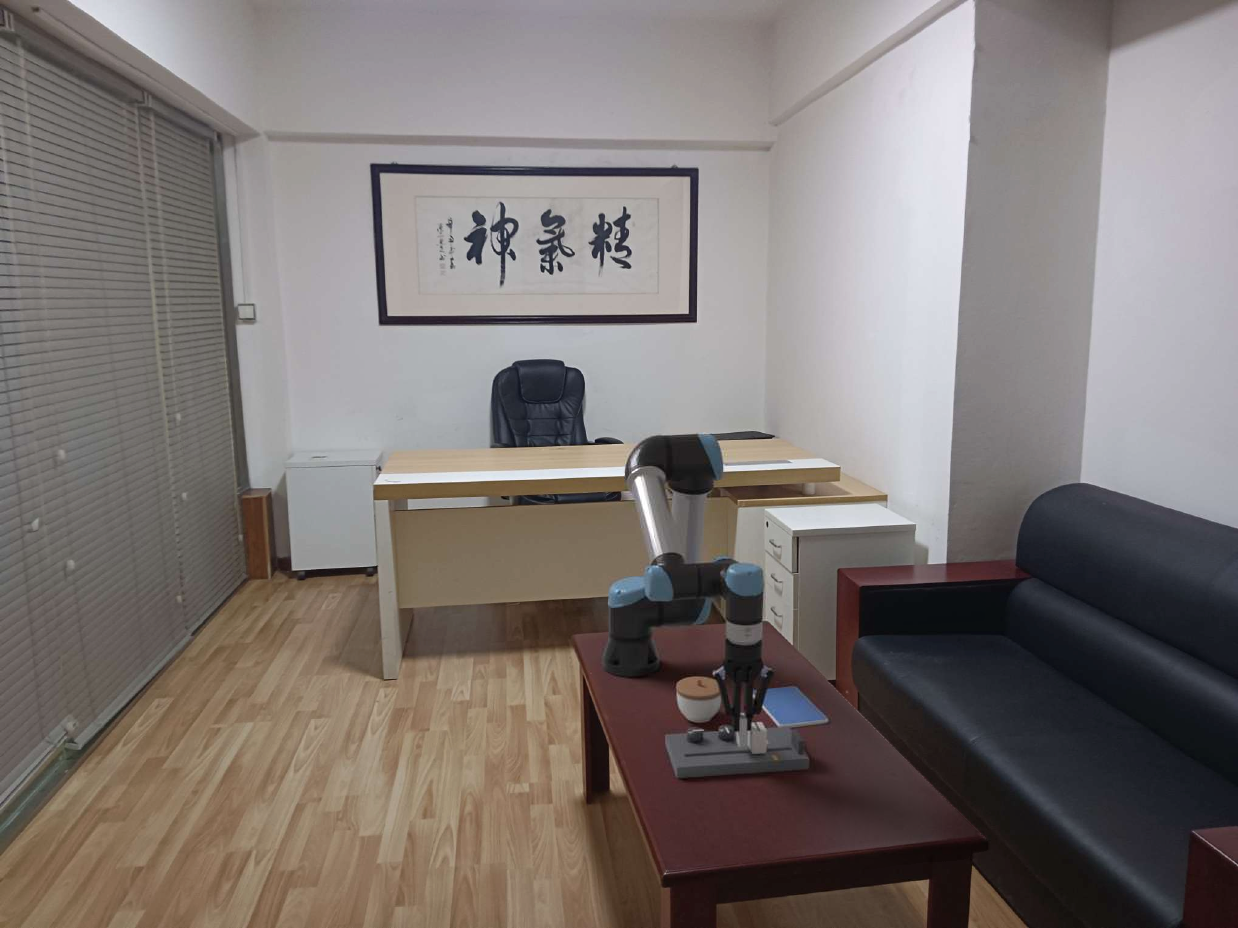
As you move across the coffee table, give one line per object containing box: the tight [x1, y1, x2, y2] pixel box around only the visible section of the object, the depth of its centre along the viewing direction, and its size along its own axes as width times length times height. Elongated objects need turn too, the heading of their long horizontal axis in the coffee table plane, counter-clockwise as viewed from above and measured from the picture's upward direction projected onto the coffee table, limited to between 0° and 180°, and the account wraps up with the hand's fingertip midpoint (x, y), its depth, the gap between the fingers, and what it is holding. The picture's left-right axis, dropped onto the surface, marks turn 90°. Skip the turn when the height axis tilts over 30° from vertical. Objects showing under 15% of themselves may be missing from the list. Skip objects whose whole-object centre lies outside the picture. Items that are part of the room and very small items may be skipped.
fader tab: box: [747, 721, 767, 754], centre depth 189 cm, size 4×3×5 cm
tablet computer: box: [753, 685, 829, 729], centre depth 214 cm, size 19×13×1 cm, turn 13°
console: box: [664, 724, 810, 779], centre depth 191 cm, size 14×28×5 cm, turn 97°
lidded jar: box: [675, 676, 722, 724], centre depth 209 cm, size 11×11×9 cm
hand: (741, 744), depth 188 cm, fingers closed
